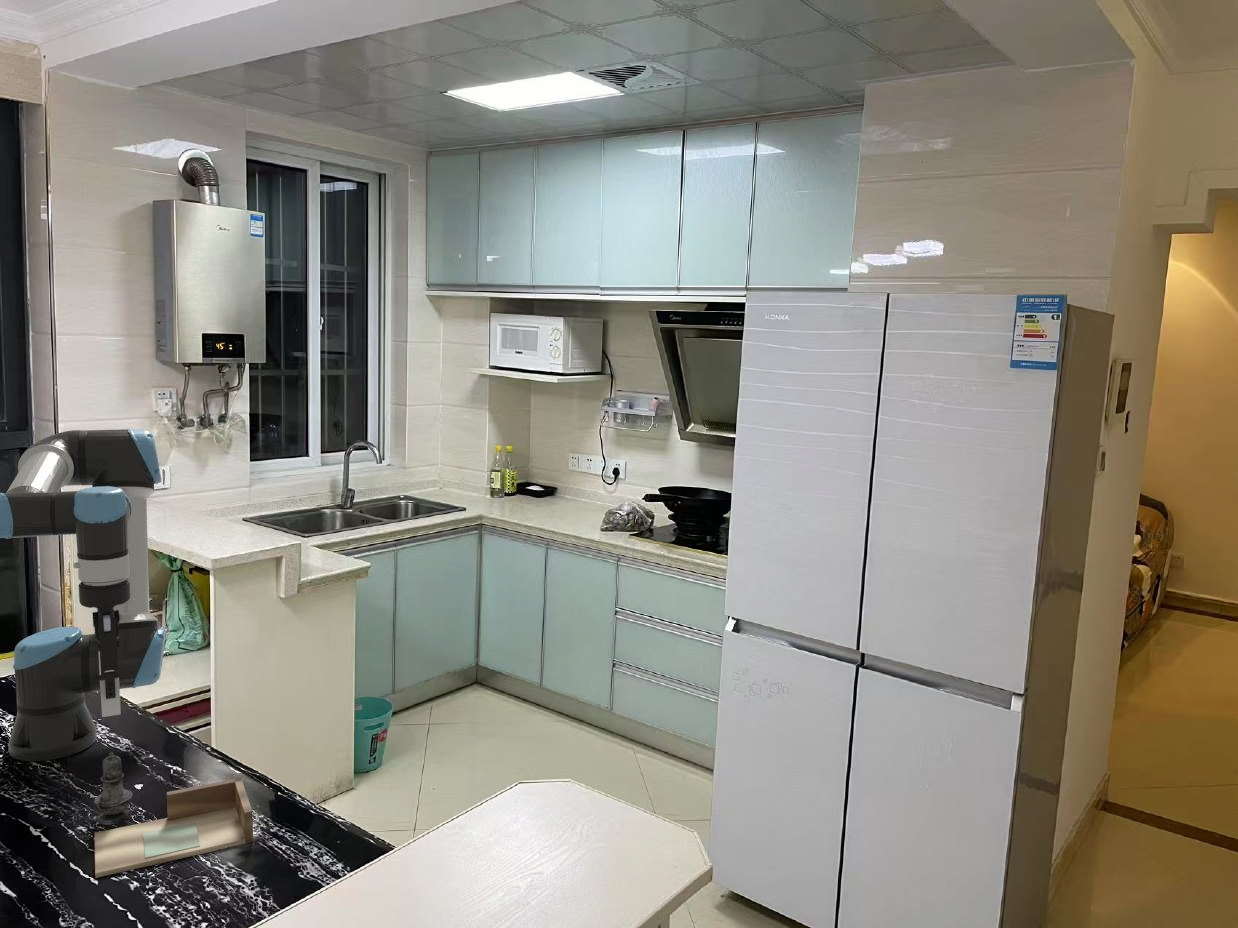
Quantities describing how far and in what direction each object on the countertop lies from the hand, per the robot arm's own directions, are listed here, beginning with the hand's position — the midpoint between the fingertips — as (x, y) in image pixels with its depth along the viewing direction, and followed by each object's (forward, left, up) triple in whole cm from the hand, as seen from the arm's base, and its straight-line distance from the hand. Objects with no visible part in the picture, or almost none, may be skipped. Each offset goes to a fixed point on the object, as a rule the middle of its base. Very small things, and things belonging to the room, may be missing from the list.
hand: (110, 700), depth 158 cm
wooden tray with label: (+12, +8, -21) cm, 26 cm away
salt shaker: (0, 0, -22) cm, 22 cm away
